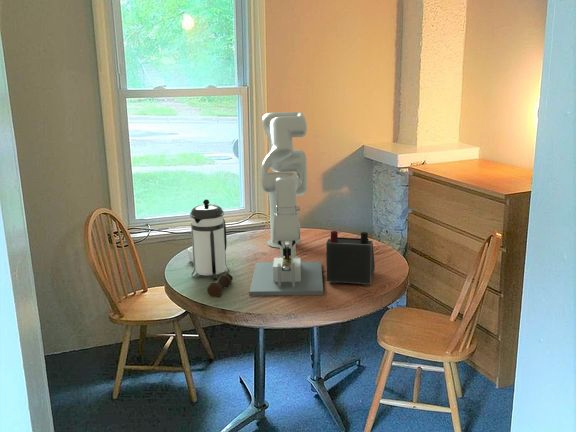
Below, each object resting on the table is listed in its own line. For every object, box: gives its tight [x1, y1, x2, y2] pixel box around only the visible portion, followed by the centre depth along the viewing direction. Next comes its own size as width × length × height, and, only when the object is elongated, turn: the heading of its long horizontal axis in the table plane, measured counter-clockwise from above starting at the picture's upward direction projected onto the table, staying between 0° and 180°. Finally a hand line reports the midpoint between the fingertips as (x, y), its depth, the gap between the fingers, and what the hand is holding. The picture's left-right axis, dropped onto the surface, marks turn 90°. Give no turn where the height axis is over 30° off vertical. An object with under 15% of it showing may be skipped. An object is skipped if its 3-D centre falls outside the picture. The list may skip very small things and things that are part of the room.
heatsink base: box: [248, 257, 324, 297], centre depth 220 cm, size 31×26×10 cm
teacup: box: [187, 246, 194, 263], centre depth 244 cm, size 10×8×5 cm
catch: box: [279, 241, 297, 258], centre depth 229 cm, size 6×6×11 cm
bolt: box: [206, 273, 234, 298], centre depth 212 cm, size 6×5×15 cm
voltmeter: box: [325, 230, 376, 287], centre depth 218 cm, size 16×16×20 cm
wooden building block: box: [282, 256, 291, 271], centre depth 216 cm, size 15×3×11 cm
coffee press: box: [189, 199, 230, 282], centre depth 225 cm, size 17×16×30 cm
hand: (287, 257), depth 219 cm, fingers closed
